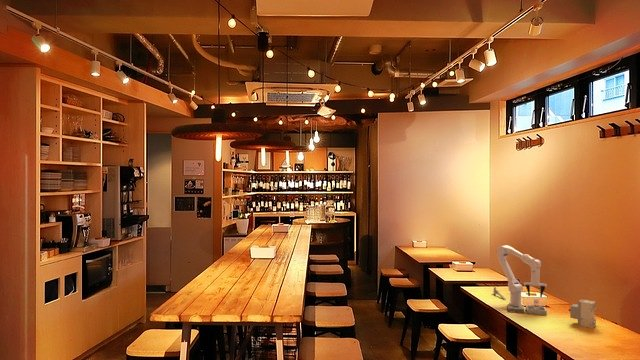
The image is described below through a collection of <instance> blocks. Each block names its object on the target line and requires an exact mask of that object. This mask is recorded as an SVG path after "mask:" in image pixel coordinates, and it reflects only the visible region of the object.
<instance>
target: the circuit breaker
mask: <svg viewBox="0 0 640 360" xmlns="http://www.w3.org/2000/svg"><path fill="white" fill-rule="evenodd" d="M596 303H597V301H593V300H587V299H580V300H578V301H577V303H576V304H575V303H573V304H571V305H570V306H569V307H570V308H569V309H568V311H569V313H570V314H569V316H570V318H569V319H574V320H577V326H578V327H585V328H591V329H593V328H594V327H596V326H597V325H596V324H597V323H596V322H597V318H596V317H595V311H596V309H597V304H596Z"/></svg>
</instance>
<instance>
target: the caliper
mask: <svg viewBox="0 0 640 360" xmlns="http://www.w3.org/2000/svg"><path fill="white" fill-rule="evenodd" d="M494 294H496V295H498V296H499V297H500V298H501V299H502V300H504V301H507V299H506V297H504V295H502V294H501V292H500V291H499V290H498V289H497V287H496V286H494V287H493V295H494Z"/></svg>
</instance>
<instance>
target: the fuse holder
mask: <svg viewBox="0 0 640 360" xmlns="http://www.w3.org/2000/svg"><path fill="white" fill-rule="evenodd" d="M507 310H508V313H518V314H519V313H520V314H525V308H524V306H523V305H522V304H521V305H512V304H509V303H508V304H507Z"/></svg>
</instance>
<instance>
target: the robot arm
mask: <svg viewBox="0 0 640 360" xmlns="http://www.w3.org/2000/svg"><path fill="white" fill-rule="evenodd" d="M496 253H497V254H496V255H497V261H498V262H499V263H498V264H499V265H500V267H501V270H502V271H503V273H504V275H505V277H506V280H507V286H508V291H509V293H510V294H509V295H510V296H509V297H510V299H509V301H510V302H508V304H512V305H522V292H523V290H524V287H525V288H526V290H527V295H528V297H530V296H531V294H530V293H531V292H530V291H531V290H530V288H531V287H539V289H540V292H539V293H540V295H539V297H540V298H542V296H543V293H544V291H545V289H546V288H547V286H548V284H546V283H541V267H542V261H541V260H540V259H536V258H535V257H532V256H530V254H528V253H527V254H526V253H521V252H520V251H518V250H516V249H515V248H514V247H512V246H510V245H508V244H507V245H506V244H505V245H499V246H498V247H497V249H496ZM510 254H511V255H513V256H515V257H517V258H519V259H520V261H522V262H523V263H525V264H526V265H528V266H529V267H530V282H523V285H522V284H521V283H520V281H519V280H518V279H517V278H516V277H515V274H514V273H513V271H512V269H511V266H510V265H509V262H508V261H507V258H508V256H509V255H510Z"/></svg>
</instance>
